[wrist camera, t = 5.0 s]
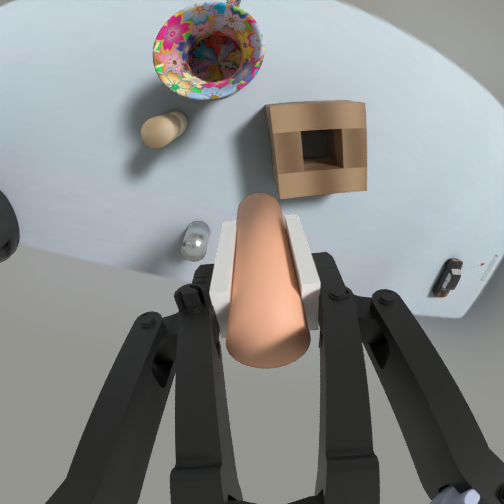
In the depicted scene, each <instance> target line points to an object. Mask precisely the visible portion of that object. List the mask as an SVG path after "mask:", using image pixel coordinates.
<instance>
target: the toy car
mask: <svg viewBox="0 0 504 504" xmlns="http://www.w3.org/2000/svg"><path fill="white" fill-rule="evenodd" d="M462 264H463V262H462V261H461V260H459V259H454V258H453V259H450V260H449V262H448V263H445V266H444V272H443V274H442V276H441V278H440V280H439V282H438V284H437V285H435V286H434V288H433V293H434V295H435V297H446V296H447V294H448V293H449V291H450V290H454V289H455V287H456V286H457V284H458V282H459V280H460V277H461V271H460V270H461V267H462ZM483 264H484V263H483ZM483 264H481V265H483ZM446 265H447V266H446ZM479 266H480V265H479ZM475 267H476V266H475ZM462 268H463V267H462ZM471 268H472V267H471Z"/></svg>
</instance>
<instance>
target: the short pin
mask: <svg viewBox="0 0 504 504" xmlns="http://www.w3.org/2000/svg"><path fill="white" fill-rule="evenodd" d="M209 236H210V228H209V226H208V225H207V224H206V223H204V222H202V221H195V222H192V223H191V224H190V225H189V226H188V229H187V231H186V234H185V237H184V239H183V242H182V245H181V248H180V251H181V254H182V256H183V257H184V258H185V259H187V260H189V261H194V262H195V261H200V260H201V259H203V258H204V256H205V254H206V250H207V245H208V241H209Z"/></svg>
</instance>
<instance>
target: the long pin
mask: <svg viewBox="0 0 504 504" xmlns="http://www.w3.org/2000/svg"><path fill="white" fill-rule="evenodd" d="M236 226H237V235H236V246H235V258H234V269H233V281H232V293H231V304H230V307H229V310H228V322H227V334H226V347H227V350H228V352H229V354H230V355H231V356H232V357H233V358H234V359H235V360H237V361H238V362H240V363H242V364H244V365H247V366H250V367H255V368H276V367H281V366H285V365H288V364H290V363H292V362H294V361H296V360H298V359H299V358H300V357H302V355H304V354H305V352H306V351H307V350H308V348H309V345H310V340H311V339H310V332H309V328H308V323H307V318H306V313H305V309H304V305H303V302H302V300H301V295H300V290H299V285H298V281H297V276H296V272H295V267H294V263H293V258H292V254H291V249H290V245H289V241H288V236H287V232H286V226H285V222H284V218H283V214H282V210H281V206H280V204H279V202H278V201H277V200H276V199H275V198H274V197H272V196H271V195H269V194H266V193H254V194H251V195H249V196H247V197H246V198H244V199H243V200H242V202H241V203H240V205H239V207H238V212H237V222H236Z"/></svg>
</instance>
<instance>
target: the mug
mask: <svg viewBox="0 0 504 504" xmlns="http://www.w3.org/2000/svg"><path fill="white" fill-rule="evenodd" d="M240 1H241V0H227V2H226V3H222V2H204V3H199V4H195V5H192V6H189V7H187V8H185V9H183V10H181V11H179V12H178V13H176V14H175V15H173V16H172V17H171V18H170V19H169V20H168V21H167V22H166V23H165V24H164V25H163V27H162V28H161V30H160V31H159V33H158V35H157V37H156V40H155V43H154V47H153V63H154V67H155V70H156V72H157V74H158V76H159V78H160V79H161V81H162V82H163V83H164V84H165V85H166V86H167V87H168V88H169V89H170V90H172V91H173V92H175V93H177V94H179V95H181V96H183V97H186V98H190V99H195V100H214V99H219V98H223V97H226V96H229V95H231V94H233V93H235V92H237V91H239V90H240V89H242V88H243V87H245V86H246V85H247V84H248V83H249V82H250V81H251V80H252V79H253V78H254V77H255V75H256V74H257V72H258V71H259V69H260V67H261V65H262V62H263V59H264V54H265V41H264V36H263V33H262V31H261V29H260V27H259V25H258V23H257V22H256V21H255V20H254V18H253V17H252V16H251V15H249V14H248V13H247V12H245V11H244V10H242V9H240V8H239V5H240Z"/></svg>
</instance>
